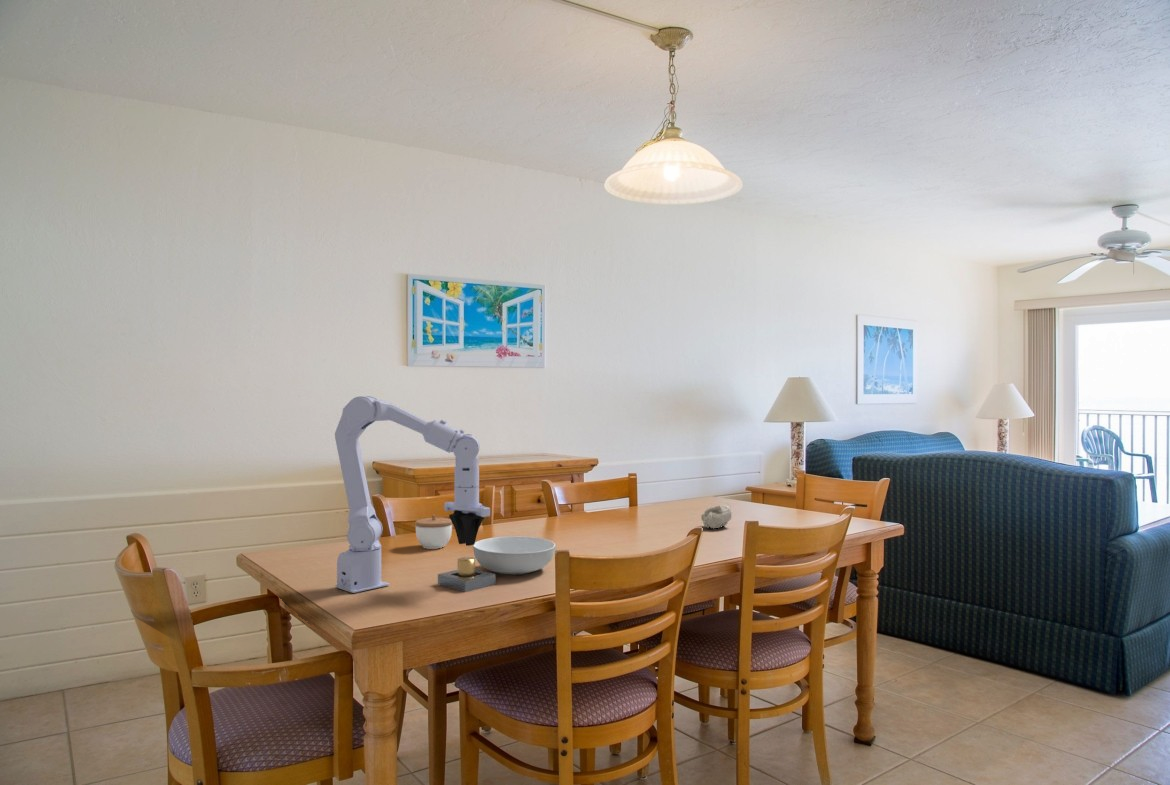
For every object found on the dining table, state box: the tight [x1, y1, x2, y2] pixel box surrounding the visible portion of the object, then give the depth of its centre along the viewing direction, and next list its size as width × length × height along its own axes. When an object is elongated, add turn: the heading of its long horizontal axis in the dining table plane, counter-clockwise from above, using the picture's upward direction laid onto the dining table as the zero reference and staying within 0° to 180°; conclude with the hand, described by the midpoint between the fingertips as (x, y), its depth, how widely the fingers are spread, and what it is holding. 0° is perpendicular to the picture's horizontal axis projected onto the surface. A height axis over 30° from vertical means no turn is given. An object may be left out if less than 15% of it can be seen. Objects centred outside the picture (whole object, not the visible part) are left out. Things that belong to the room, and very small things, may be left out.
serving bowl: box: [472, 535, 556, 576], centre depth 189 cm, size 21×21×7 cm
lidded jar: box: [414, 514, 453, 550], centre depth 219 cm, size 11×11×9 cm
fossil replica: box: [700, 503, 733, 529], centre depth 251 cm, size 12×8×10 cm
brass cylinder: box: [457, 556, 476, 578], centre depth 175 cm, size 4×4×6 cm
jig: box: [437, 568, 496, 593], centre depth 176 cm, size 9×10×2 cm
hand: (466, 544), depth 176 cm, fingers open, 2 cm apart
